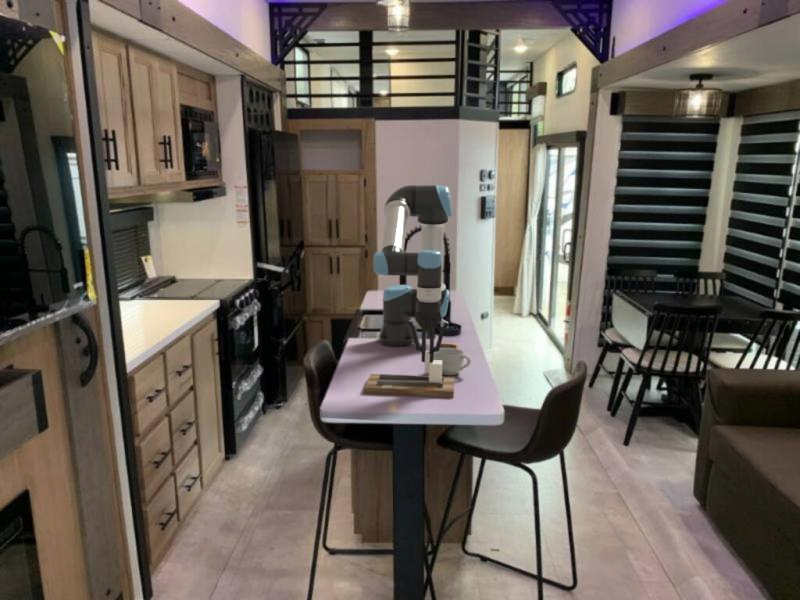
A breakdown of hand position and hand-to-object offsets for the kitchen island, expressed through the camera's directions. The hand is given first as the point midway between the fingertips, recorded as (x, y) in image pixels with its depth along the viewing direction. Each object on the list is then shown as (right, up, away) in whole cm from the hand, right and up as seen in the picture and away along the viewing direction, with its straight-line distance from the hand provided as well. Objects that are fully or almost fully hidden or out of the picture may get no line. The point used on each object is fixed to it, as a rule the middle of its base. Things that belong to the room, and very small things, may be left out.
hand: (427, 371), depth 189 cm
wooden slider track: (-5, -6, +2) cm, 8 cm away
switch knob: (+3, -3, +1) cm, 4 cm away
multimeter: (+8, +1, +35) cm, 36 cm away
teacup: (+9, -3, +16) cm, 19 cm away
